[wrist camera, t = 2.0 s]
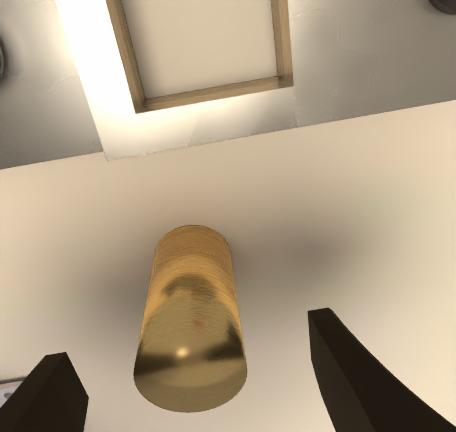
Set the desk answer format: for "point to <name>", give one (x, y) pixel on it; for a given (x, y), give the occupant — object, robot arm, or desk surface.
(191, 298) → the brass pin
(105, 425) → the desk surface
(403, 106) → the square cutout plate
